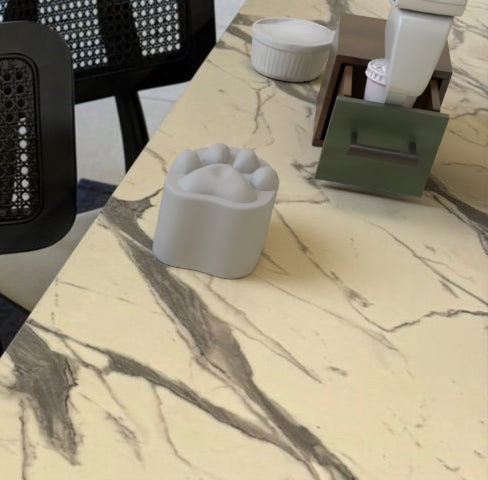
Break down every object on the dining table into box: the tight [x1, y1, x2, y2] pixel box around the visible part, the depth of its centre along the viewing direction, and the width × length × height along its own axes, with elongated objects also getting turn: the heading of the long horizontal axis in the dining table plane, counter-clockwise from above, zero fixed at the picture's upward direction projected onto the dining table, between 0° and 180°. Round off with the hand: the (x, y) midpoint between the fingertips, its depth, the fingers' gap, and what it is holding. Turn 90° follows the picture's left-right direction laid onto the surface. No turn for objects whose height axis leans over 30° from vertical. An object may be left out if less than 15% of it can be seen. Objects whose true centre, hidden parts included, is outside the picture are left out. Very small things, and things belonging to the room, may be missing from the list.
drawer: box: [314, 63, 450, 198], centre depth 112 cm, size 19×11×9 cm, turn 165°
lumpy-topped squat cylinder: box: [152, 142, 280, 280], centre depth 99 cm, size 10×13×9 cm
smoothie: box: [364, 59, 417, 108], centre depth 110 cm, size 6×6×14 cm
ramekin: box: [250, 16, 335, 83], centre depth 137 cm, size 11×11×5 cm
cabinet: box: [311, 12, 454, 148], centre depth 122 cm, size 16×13×11 cm
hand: (387, 106), depth 111 cm, fingers closed on smoothie, 6 cm apart
